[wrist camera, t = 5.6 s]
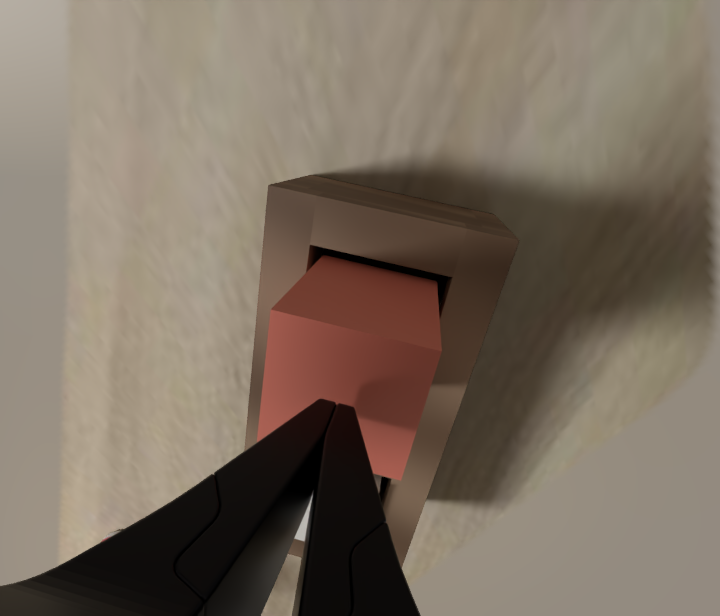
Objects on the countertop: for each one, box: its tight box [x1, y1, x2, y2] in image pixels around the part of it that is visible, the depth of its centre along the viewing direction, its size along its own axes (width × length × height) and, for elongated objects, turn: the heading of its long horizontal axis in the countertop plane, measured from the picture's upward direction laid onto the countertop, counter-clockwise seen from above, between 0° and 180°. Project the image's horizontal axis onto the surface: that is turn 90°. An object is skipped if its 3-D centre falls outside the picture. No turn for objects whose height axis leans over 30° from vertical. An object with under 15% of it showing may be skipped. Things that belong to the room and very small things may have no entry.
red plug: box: [257, 255, 442, 481], centre depth 12 cm, size 4×4×5 cm
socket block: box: [245, 175, 519, 568], centre depth 18 cm, size 17×8×5 cm, turn 169°
